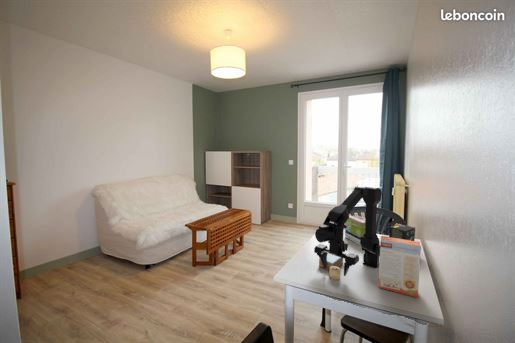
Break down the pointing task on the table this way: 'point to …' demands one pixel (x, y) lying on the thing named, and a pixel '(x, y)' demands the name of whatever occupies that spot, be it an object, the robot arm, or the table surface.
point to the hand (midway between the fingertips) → (335, 271)
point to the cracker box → (399, 265)
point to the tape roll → (334, 273)
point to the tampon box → (402, 232)
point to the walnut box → (331, 264)
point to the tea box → (355, 228)
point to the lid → (332, 258)
